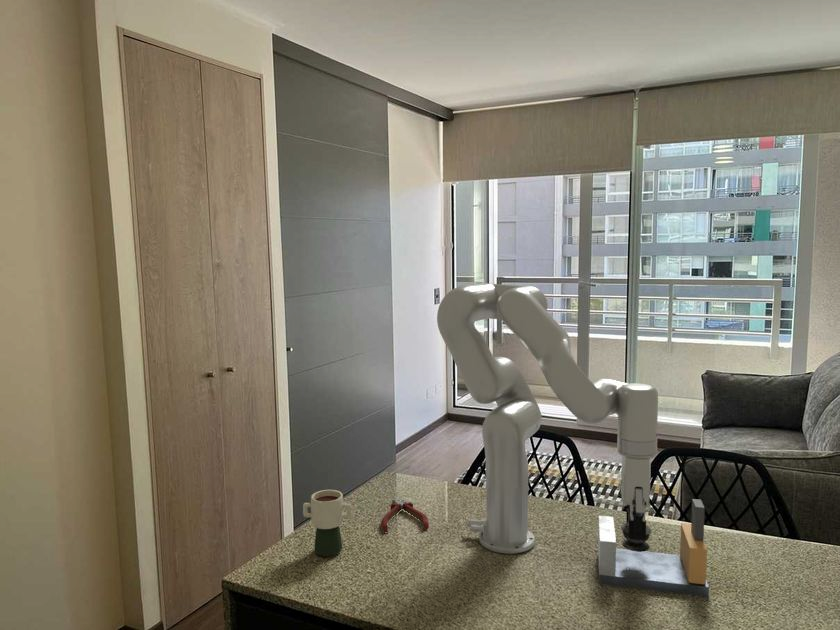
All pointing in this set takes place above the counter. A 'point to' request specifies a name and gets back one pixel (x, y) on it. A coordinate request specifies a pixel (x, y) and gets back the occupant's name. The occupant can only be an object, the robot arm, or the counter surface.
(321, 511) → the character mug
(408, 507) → the pliers
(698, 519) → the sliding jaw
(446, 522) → the counter surface
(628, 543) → the dark grey chess piece
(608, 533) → the vise
